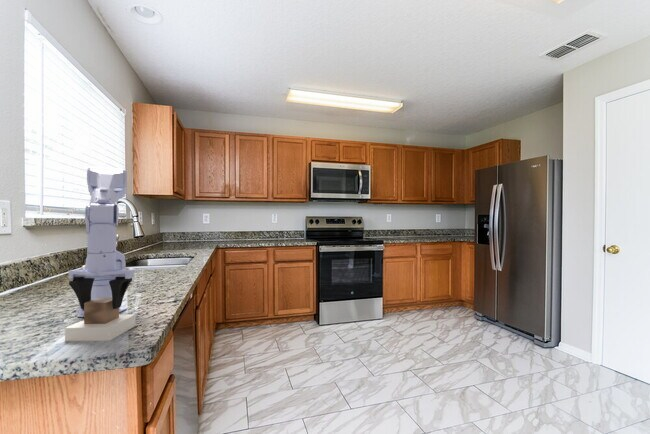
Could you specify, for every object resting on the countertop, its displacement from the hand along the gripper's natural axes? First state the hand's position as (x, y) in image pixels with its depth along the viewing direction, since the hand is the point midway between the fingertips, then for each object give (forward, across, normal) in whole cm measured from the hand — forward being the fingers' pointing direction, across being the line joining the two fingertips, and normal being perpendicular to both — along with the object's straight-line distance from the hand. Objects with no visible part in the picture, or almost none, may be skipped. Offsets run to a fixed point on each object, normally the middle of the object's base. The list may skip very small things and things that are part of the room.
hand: (101, 307), depth 74 cm
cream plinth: (+7, 0, 0) cm, 7 cm away
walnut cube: (+3, 0, 0) cm, 3 cm away
